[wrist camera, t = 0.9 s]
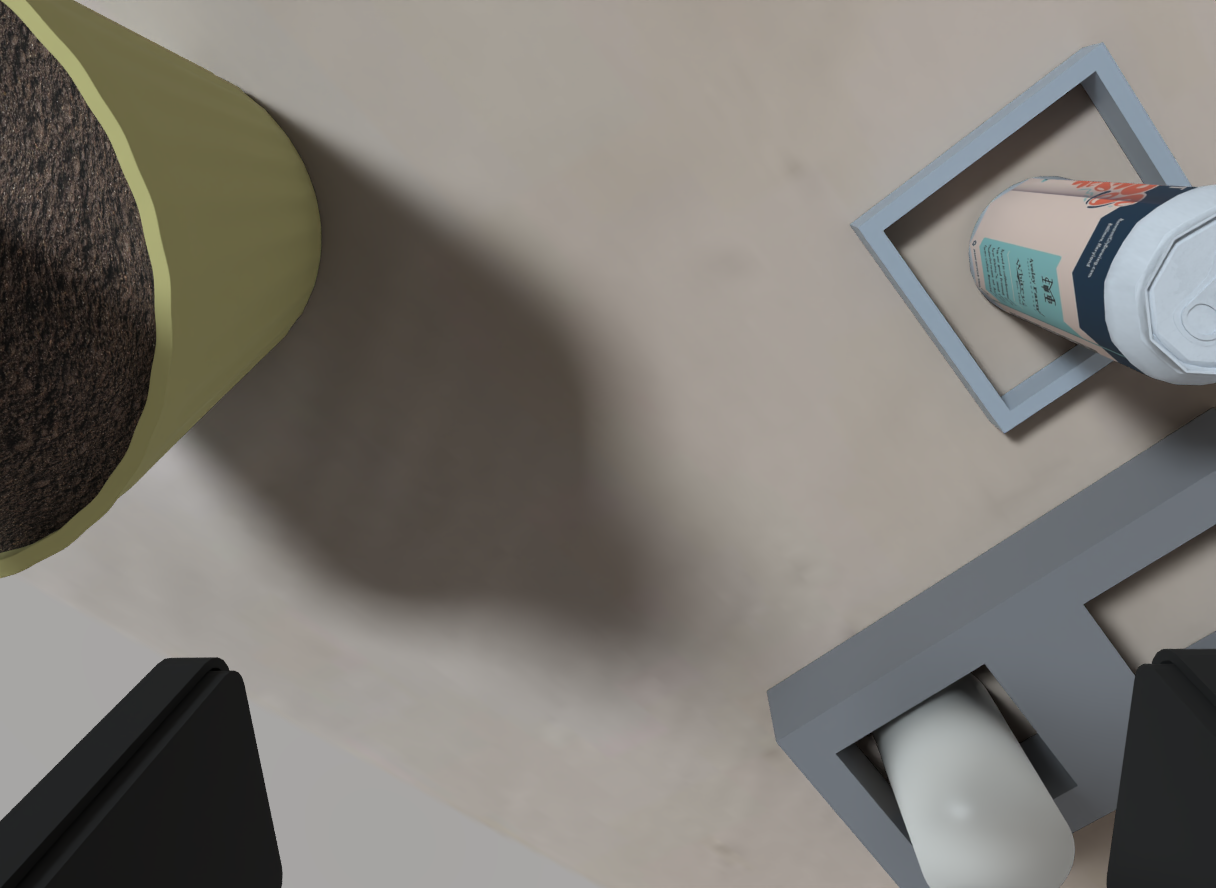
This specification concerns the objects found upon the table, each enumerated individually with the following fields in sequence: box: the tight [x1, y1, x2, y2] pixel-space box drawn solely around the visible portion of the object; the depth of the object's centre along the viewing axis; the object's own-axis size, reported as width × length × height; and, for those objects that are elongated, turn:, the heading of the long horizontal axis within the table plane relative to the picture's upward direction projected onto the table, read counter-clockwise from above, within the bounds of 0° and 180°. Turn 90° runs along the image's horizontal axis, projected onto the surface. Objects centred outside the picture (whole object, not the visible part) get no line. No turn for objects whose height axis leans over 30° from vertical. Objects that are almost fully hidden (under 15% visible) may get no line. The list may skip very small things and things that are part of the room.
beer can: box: [969, 176, 1216, 385], centre depth 27 cm, size 5×5×12 cm
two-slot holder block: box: [767, 408, 1216, 888], centre depth 33 cm, size 20×10×8 cm, turn 129°
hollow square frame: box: [850, 42, 1192, 433], centre depth 32 cm, size 9×9×2 cm
